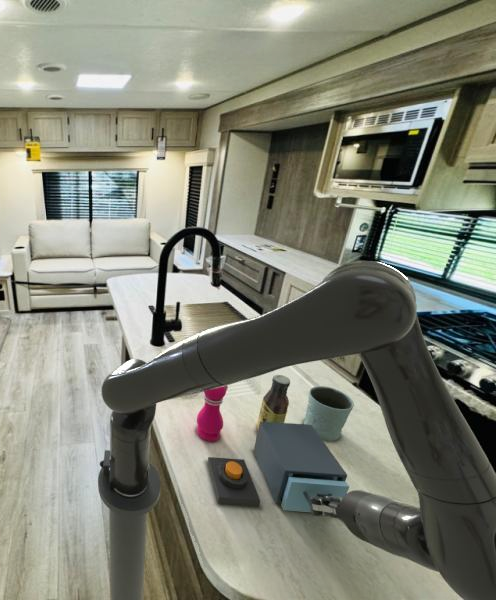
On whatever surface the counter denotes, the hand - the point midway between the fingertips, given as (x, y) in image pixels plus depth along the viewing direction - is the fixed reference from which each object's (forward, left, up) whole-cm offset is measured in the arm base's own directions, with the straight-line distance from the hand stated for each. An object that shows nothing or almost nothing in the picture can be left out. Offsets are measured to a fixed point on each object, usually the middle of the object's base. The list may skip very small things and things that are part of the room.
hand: (321, 500), depth 65 cm
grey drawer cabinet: (0, +11, -7) cm, 13 cm away
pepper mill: (-17, +24, -7) cm, 30 cm away
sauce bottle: (0, +25, -7) cm, 26 cm away
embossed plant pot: (+16, +28, -7) cm, 33 cm away
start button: (-15, +8, -3) cm, 17 cm away
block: (-15, +8, -7) cm, 18 cm away
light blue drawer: (0, +6, -6) cm, 8 cm away
